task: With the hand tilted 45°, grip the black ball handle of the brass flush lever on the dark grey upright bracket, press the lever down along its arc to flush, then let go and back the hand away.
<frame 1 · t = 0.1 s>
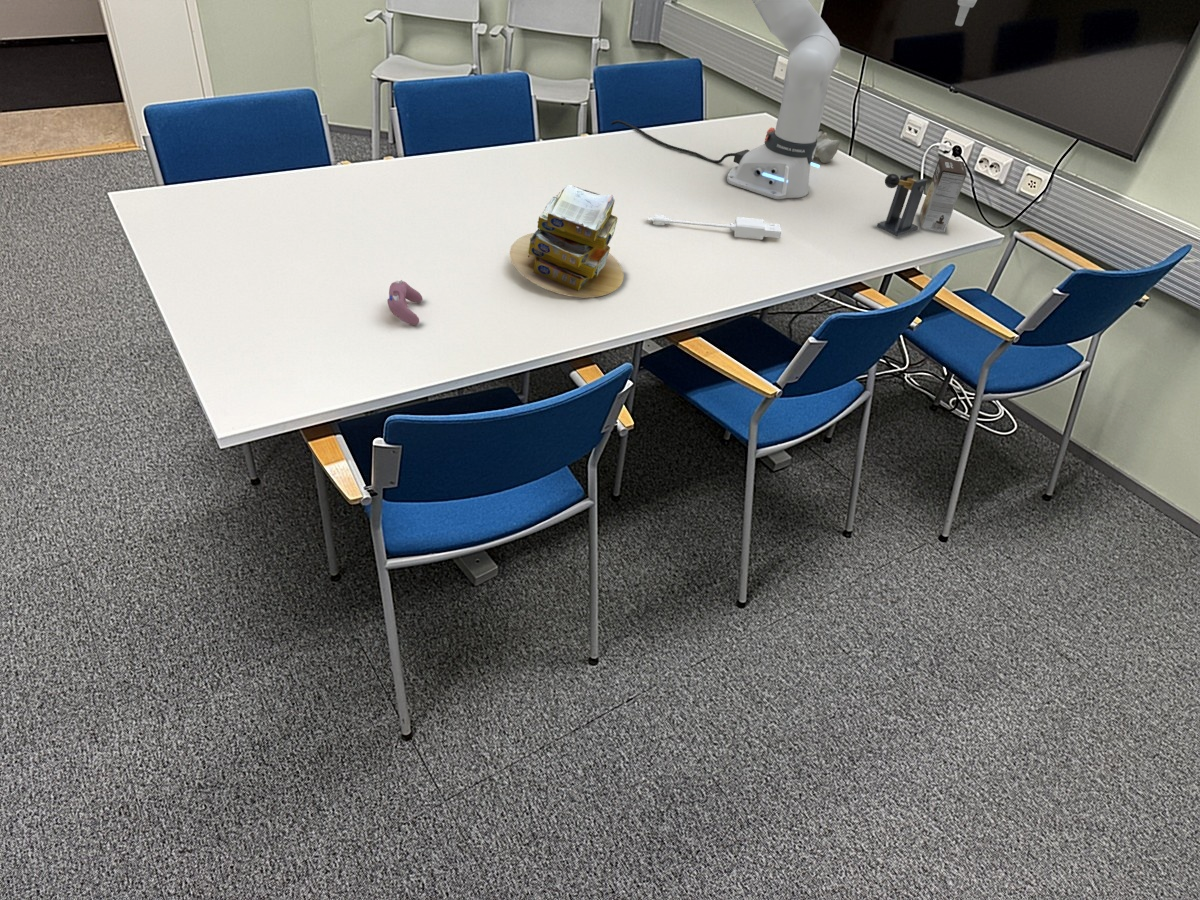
hand: (959, 21, 204), 48 cm above the table, tool pointing down, fingers open, 8 cm apart
dark grey upright bracket: (896, 229, 227), on the table
video game controller: (405, 314, 169), on the table
charging cable: (715, 231, 214), on the table
flush lever: (901, 182, 216), point 13 cm above the table, hinge at 15.0°
stack of yellow boxes: (566, 271, 190), on the table
ceramic sculpture: (812, 157, 262), on the table
coffee box: (931, 225, 232), on the table
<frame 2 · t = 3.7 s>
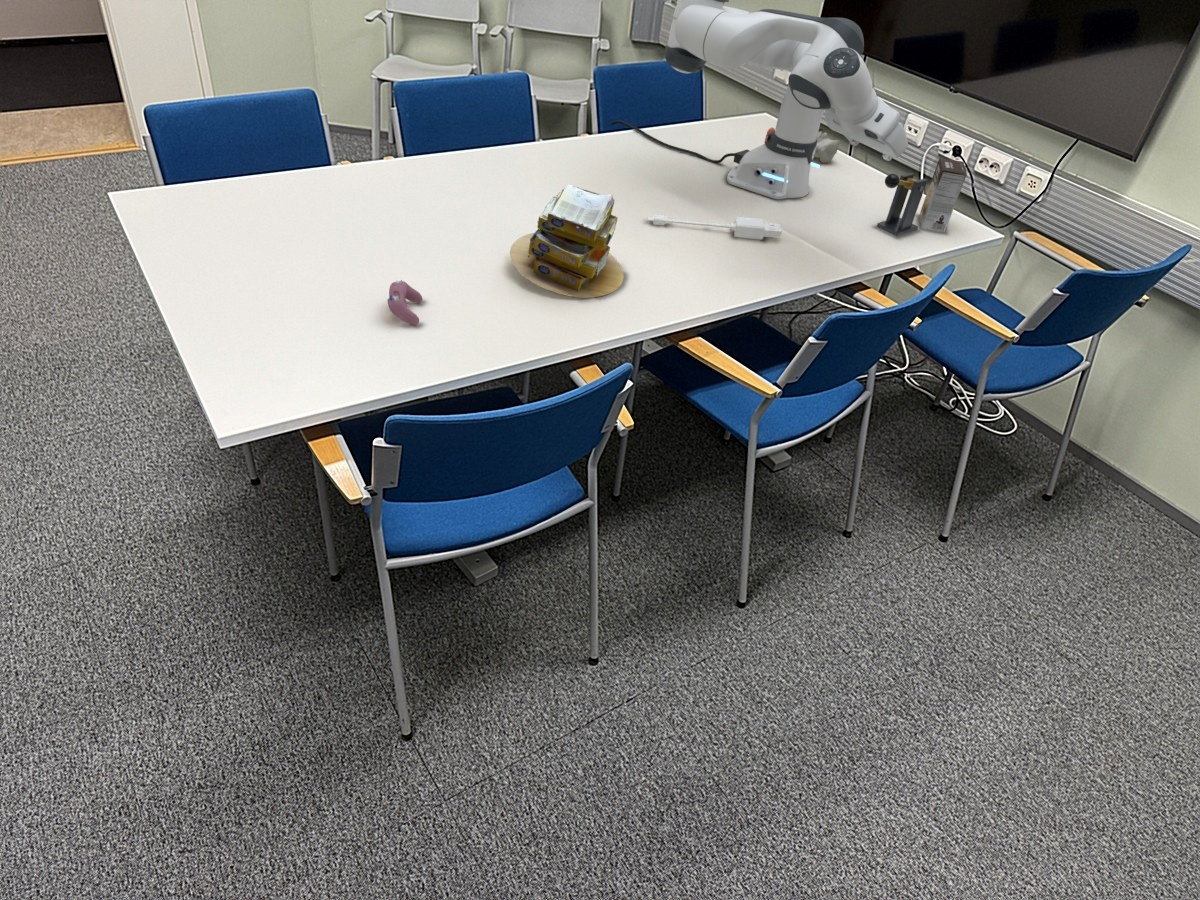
hand: (872, 150, 200), 24 cm above the table, tool tilted 45°, fingers open, 8 cm apart
nothing on the table moved.
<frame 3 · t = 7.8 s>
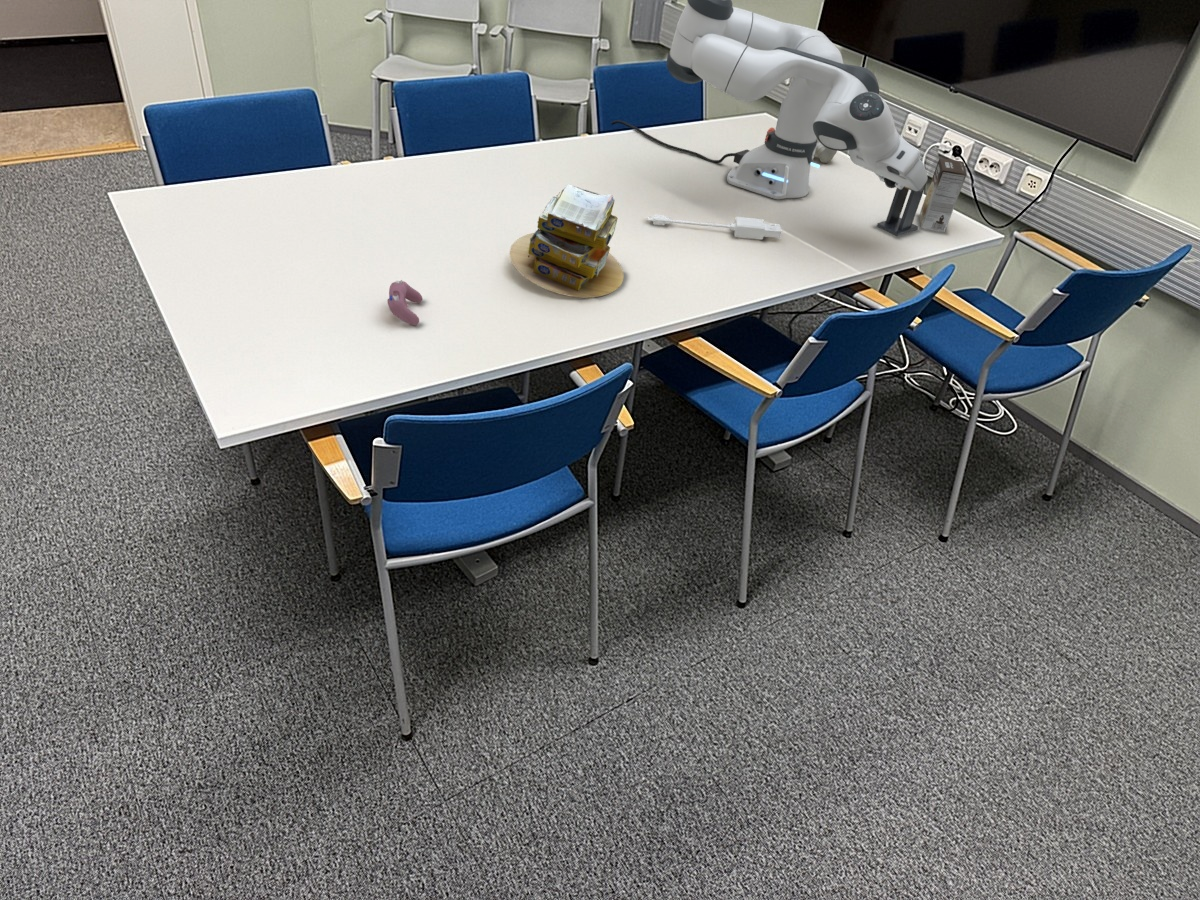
hand: (893, 182, 213), 14 cm above the table, tool tilted 45°, fingers closed on flush lever, 3 cm apart
flush lever: (901, 182, 216), point 13 cm above the table, hinge at 15.0°, touching gripper
everything else where it was.
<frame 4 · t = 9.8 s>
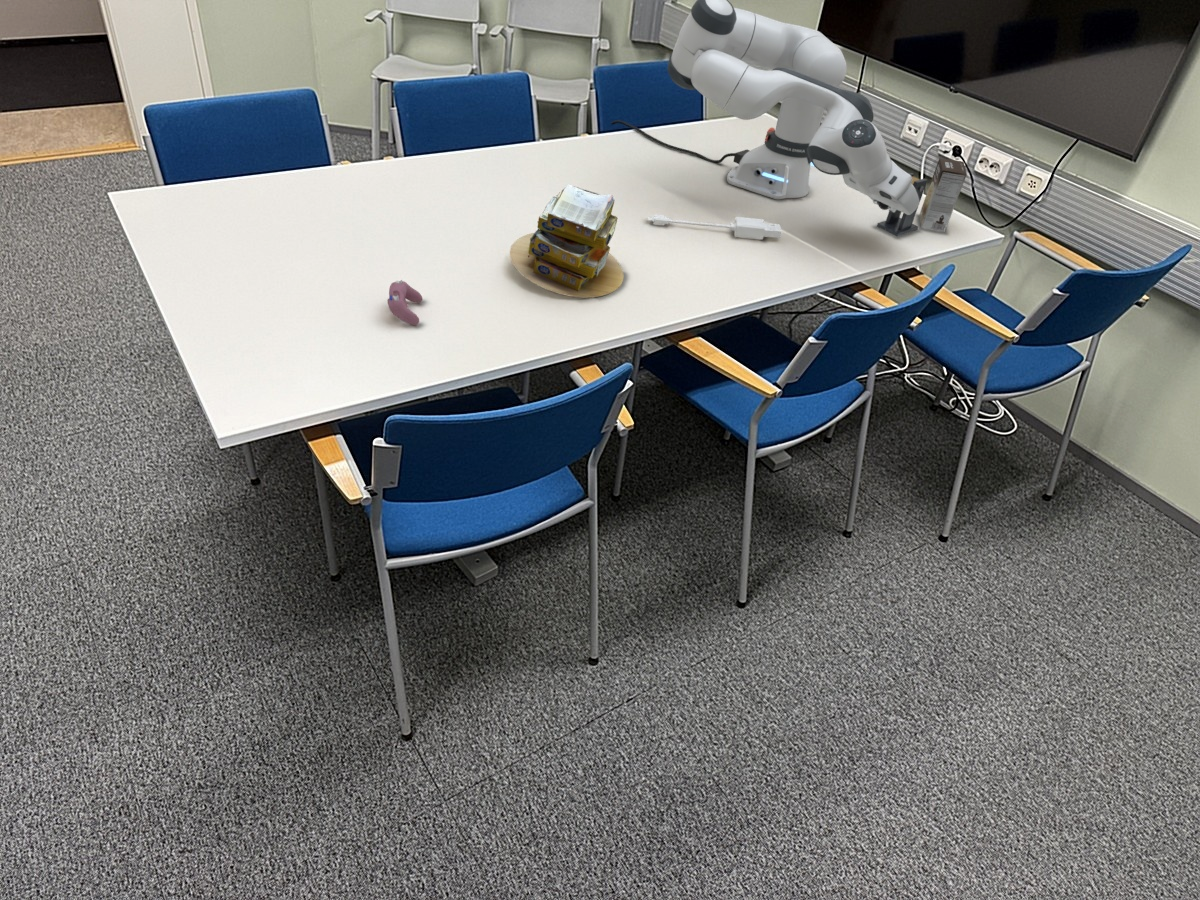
hand: (886, 205, 217), 8 cm above the table, tool tilted 45°, fingers closed on flush lever, 3 cm apart
flush lever: (898, 193, 217), point 10 cm above the table, hinge at -17.5°, touching gripper
everything else where it was.
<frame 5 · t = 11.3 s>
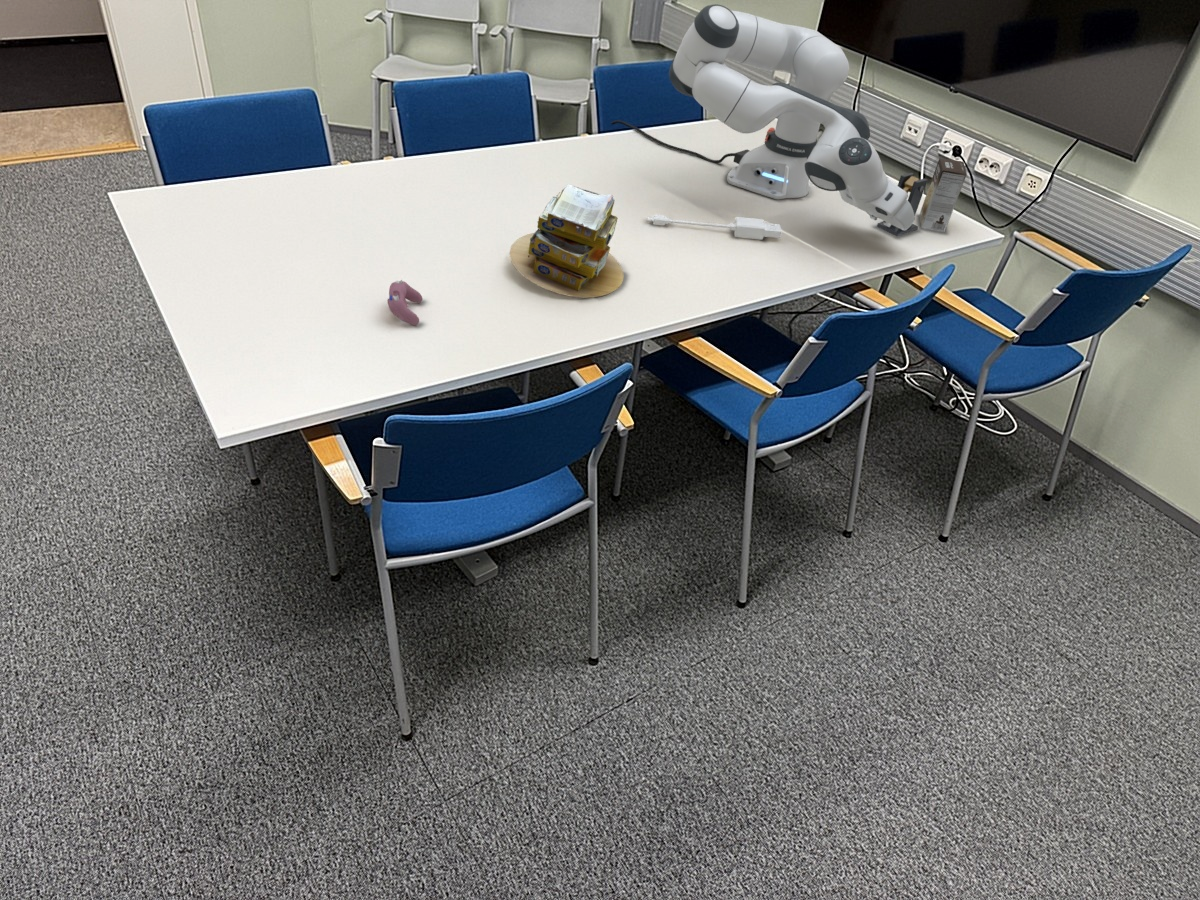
hand: (882, 220, 220), 4 cm above the table, tool tilted 45°, fingers closed on flush lever, 3 cm apart
flush lever: (898, 197, 218), point 9 cm above the table, hinge at -30.8°, touching gripper
everything else where it was.
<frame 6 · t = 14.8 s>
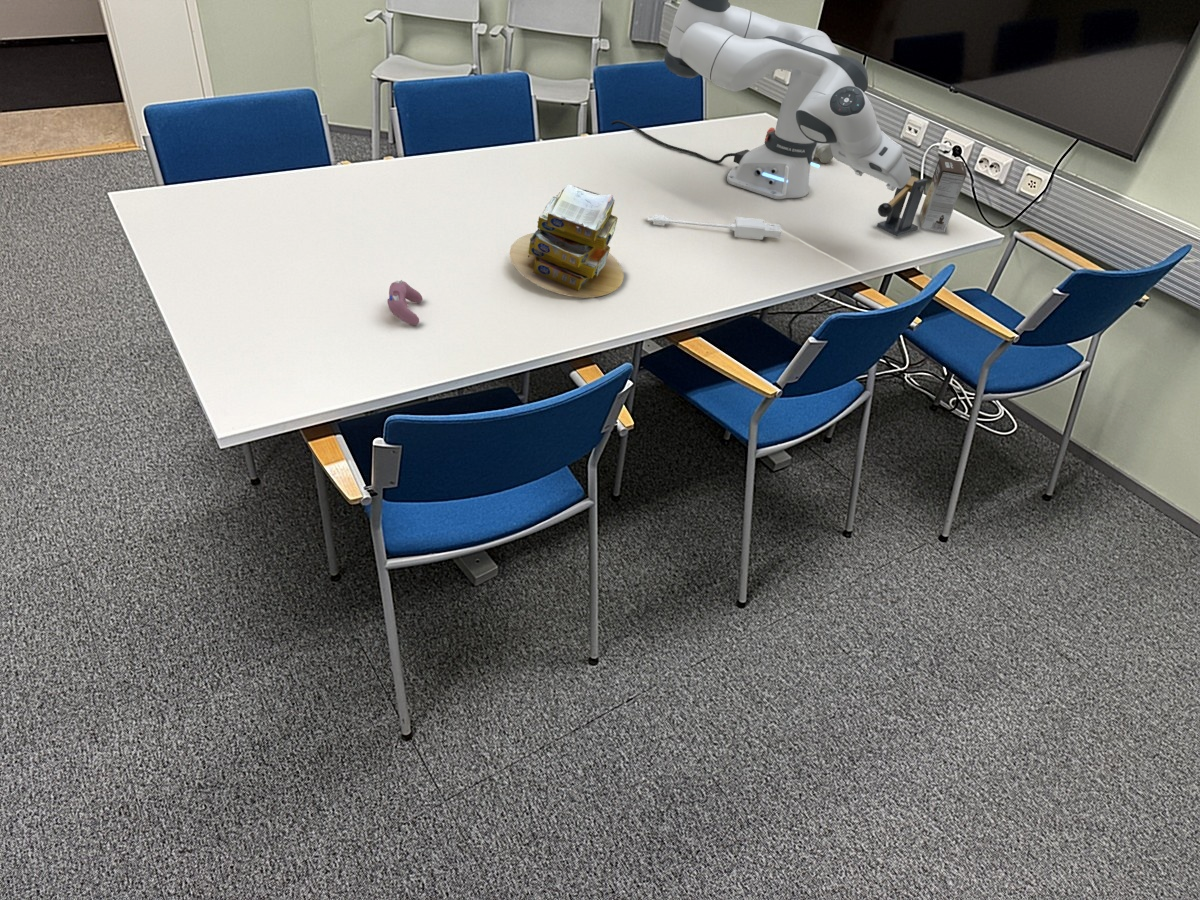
hand: (876, 180, 208), 16 cm above the table, tool tilted 45°, fingers open, 8 cm apart
flush lever: (898, 197, 218), point 9 cm above the table, hinge at -30.6°
everything else where it was.
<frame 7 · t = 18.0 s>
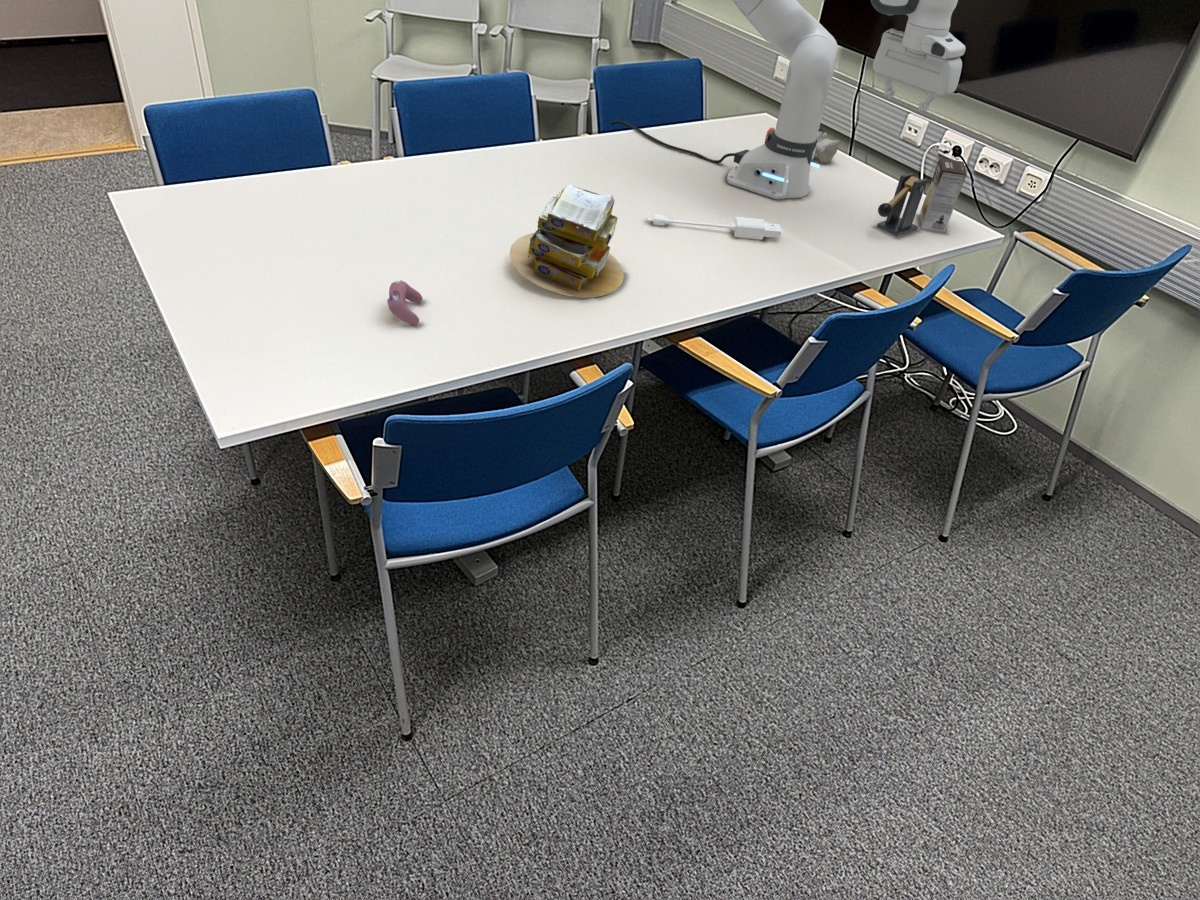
hand: (905, 103, 198), 33 cm above the table, tool pointing down, fingers open, 8 cm apart
nothing on the table moved.
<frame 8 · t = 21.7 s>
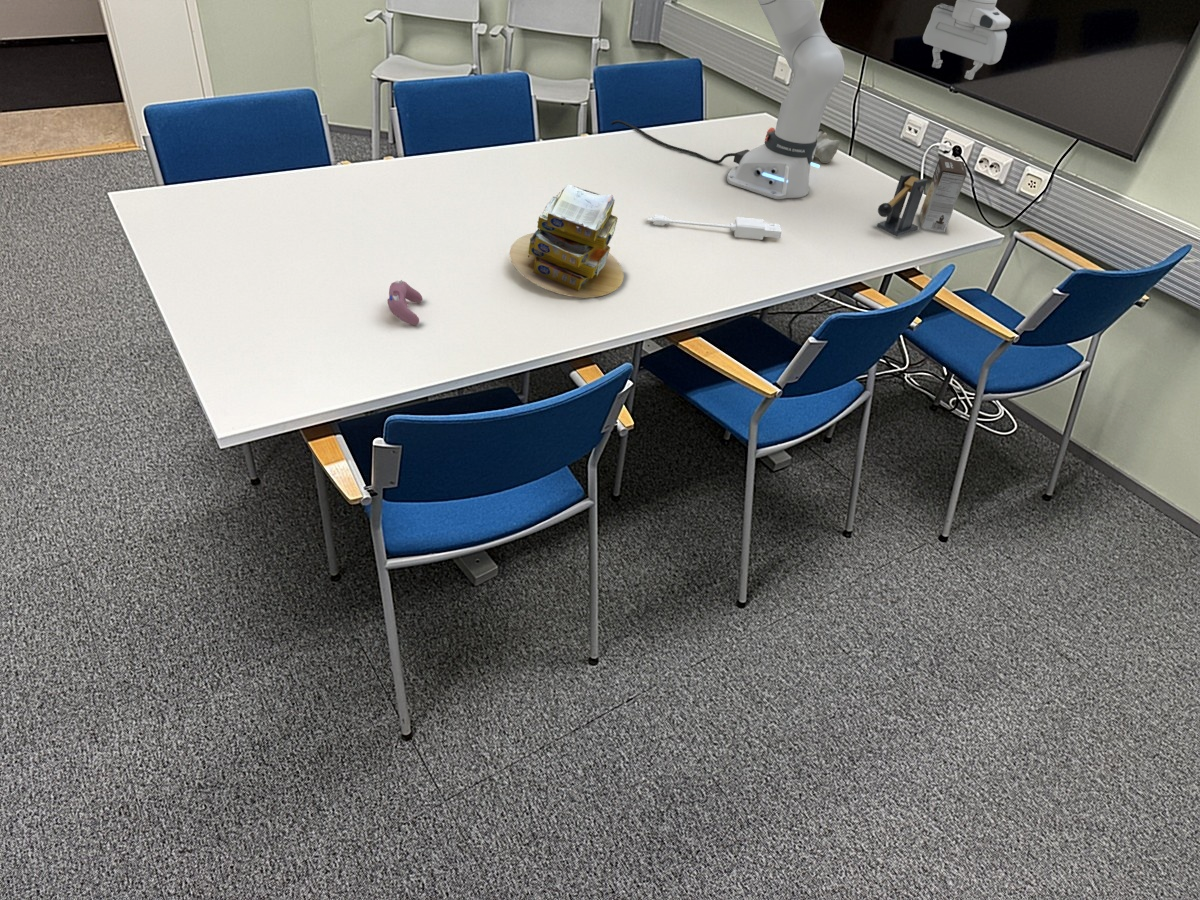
hand: (951, 73, 217), 35 cm above the table, tool pointing down, fingers open, 8 cm apart
nothing on the table moved.
at the end: flush lever at -31° (first picture: +15°); coffee box moved 0.2 cm from its start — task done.
